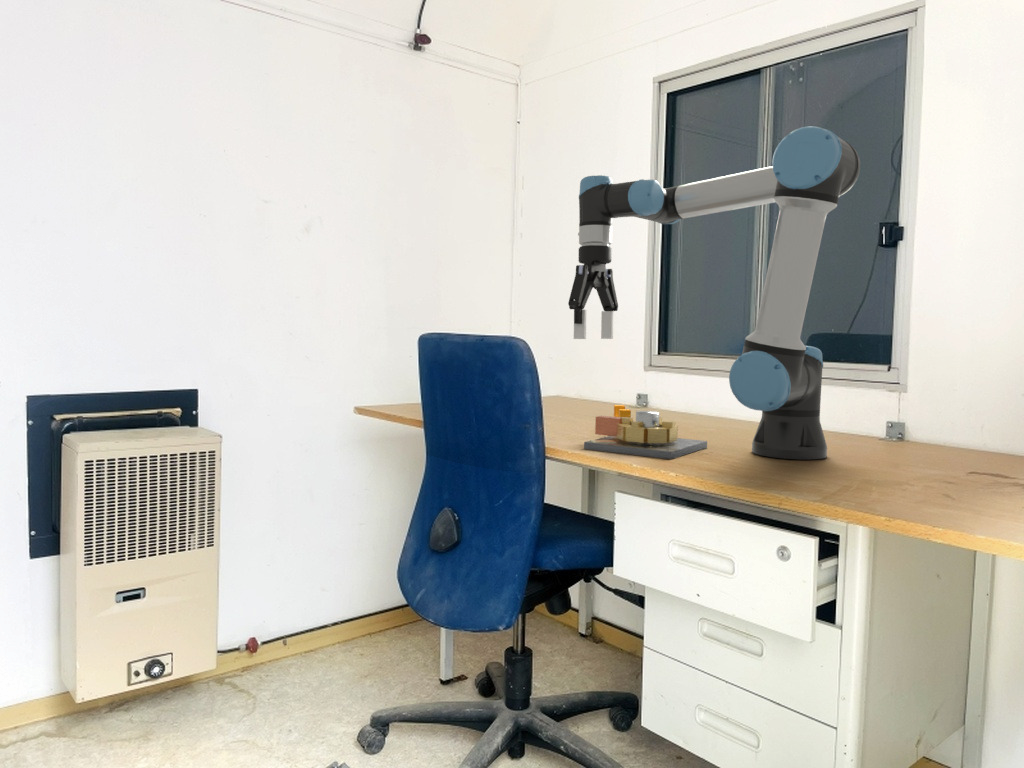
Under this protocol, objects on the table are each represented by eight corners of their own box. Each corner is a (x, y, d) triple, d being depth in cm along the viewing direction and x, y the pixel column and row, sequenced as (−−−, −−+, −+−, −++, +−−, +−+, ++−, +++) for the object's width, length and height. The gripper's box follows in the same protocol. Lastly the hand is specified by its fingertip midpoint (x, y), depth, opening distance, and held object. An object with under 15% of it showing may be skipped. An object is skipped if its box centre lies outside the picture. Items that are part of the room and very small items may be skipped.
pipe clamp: (606, 429, 207) (607, 404, 207) (623, 430, 207) (624, 405, 207) (612, 436, 195) (612, 409, 195) (629, 436, 195) (630, 410, 195)
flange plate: (707, 447, 179) (708, 412, 178) (670, 459, 162) (672, 419, 162) (625, 438, 190) (626, 405, 189) (584, 448, 173) (585, 411, 173)
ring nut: (684, 438, 178) (685, 419, 177) (661, 444, 167) (662, 424, 167) (610, 430, 188) (611, 413, 187) (584, 436, 178) (585, 417, 177)
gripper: (604, 251, 197) (603, 338, 198) (553, 241, 176) (552, 338, 177) (633, 249, 192) (631, 338, 194) (584, 239, 172) (582, 339, 173)
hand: (593, 339), depth 185 cm, fingers open, 13 cm apart
